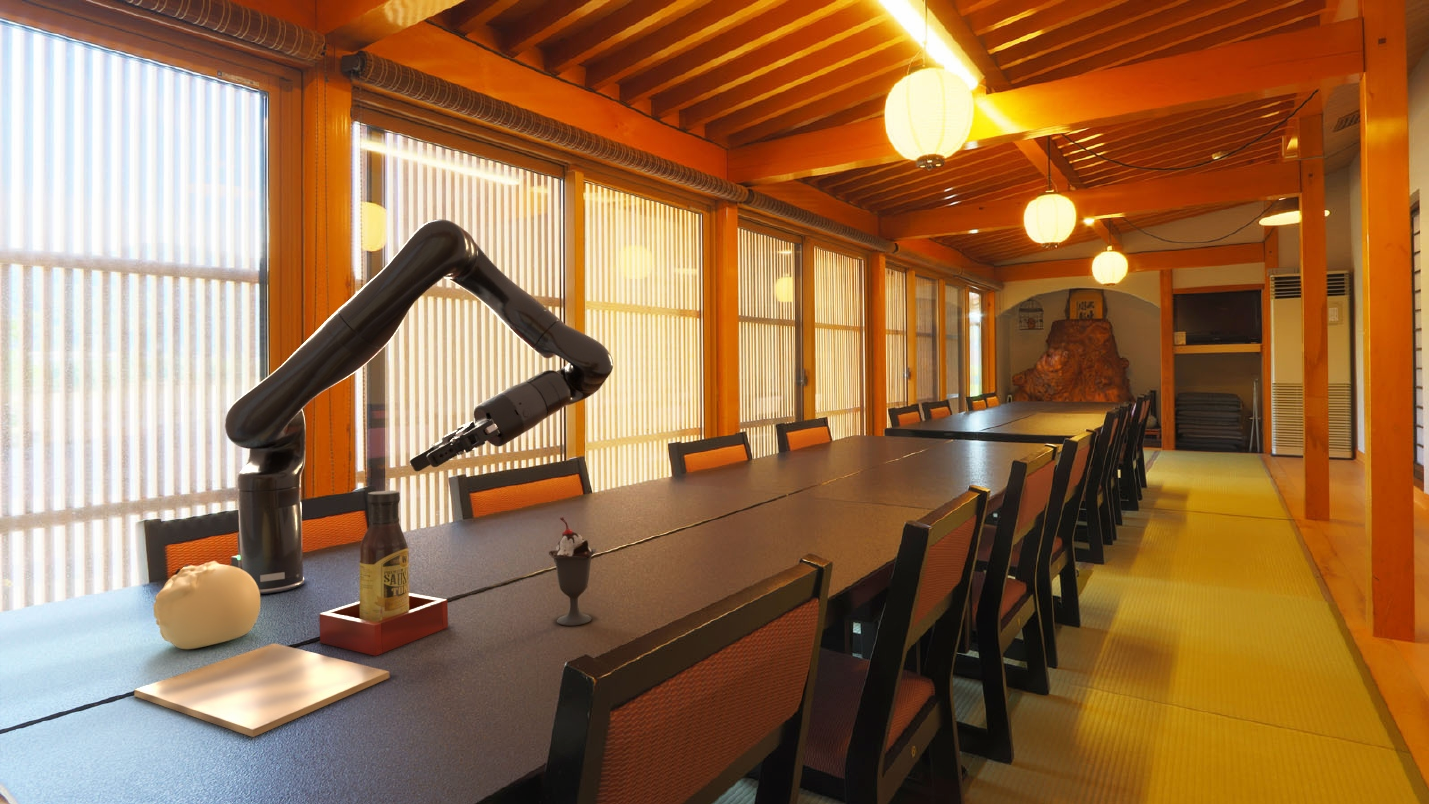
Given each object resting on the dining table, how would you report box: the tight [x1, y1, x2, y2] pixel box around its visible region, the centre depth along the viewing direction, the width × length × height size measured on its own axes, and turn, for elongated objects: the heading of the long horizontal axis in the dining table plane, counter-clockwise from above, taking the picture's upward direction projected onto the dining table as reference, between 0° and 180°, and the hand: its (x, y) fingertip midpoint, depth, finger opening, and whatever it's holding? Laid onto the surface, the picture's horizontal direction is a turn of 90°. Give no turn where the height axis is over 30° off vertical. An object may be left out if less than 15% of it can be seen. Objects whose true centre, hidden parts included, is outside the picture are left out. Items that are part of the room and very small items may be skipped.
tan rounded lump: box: [152, 560, 262, 650], centre depth 100 cm, size 12×12×11 cm
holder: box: [318, 592, 449, 657], centre depth 102 cm, size 11×12×4 cm
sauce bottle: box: [359, 490, 410, 622], centre depth 101 cm, size 7×6×20 cm
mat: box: [133, 642, 390, 738], centre depth 85 cm, size 22×16×1 cm
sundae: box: [548, 516, 597, 627], centre depth 107 cm, size 7×7×15 cm
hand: (421, 464), depth 109 cm, fingers open, 8 cm apart
